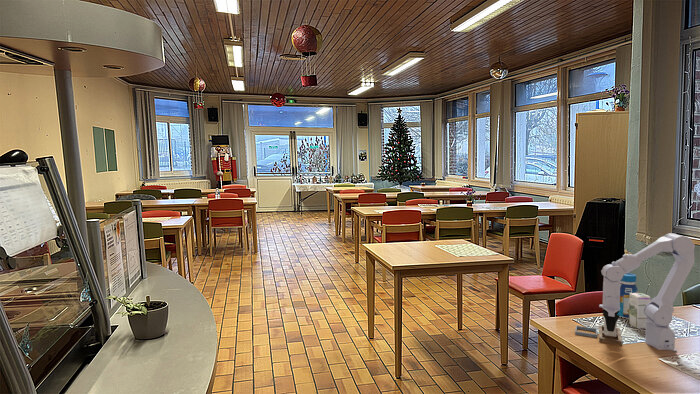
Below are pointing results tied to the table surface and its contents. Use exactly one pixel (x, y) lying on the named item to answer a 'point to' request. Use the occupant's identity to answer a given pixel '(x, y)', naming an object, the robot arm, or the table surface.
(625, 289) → the beverage bottle
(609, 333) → the loose billet
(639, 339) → the table surface
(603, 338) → the pallet
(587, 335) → the tote
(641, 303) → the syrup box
